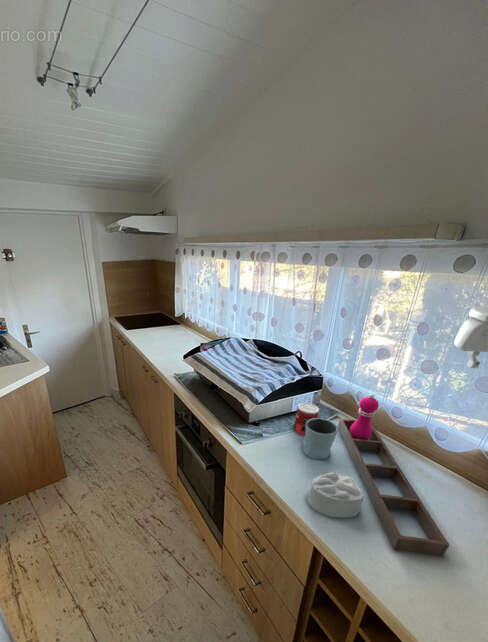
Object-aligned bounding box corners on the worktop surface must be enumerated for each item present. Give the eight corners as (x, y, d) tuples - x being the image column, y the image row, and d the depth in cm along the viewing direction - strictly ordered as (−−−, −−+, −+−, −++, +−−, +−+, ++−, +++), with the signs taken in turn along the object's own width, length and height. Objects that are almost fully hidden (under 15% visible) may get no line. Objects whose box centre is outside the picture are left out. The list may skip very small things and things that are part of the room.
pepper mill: (368, 438, 117) (384, 392, 107) (367, 448, 112) (383, 400, 102) (348, 433, 120) (361, 387, 111) (345, 442, 115) (359, 395, 105)
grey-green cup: (328, 447, 113) (335, 419, 107) (332, 464, 104) (340, 435, 98) (299, 443, 115) (305, 416, 109) (301, 460, 106) (307, 431, 101)
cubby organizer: (366, 431, 121) (370, 421, 119) (441, 558, 74) (449, 545, 71) (337, 429, 123) (340, 418, 121) (391, 551, 75) (398, 538, 73)
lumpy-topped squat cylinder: (361, 519, 84) (370, 496, 80) (314, 519, 84) (320, 496, 80) (345, 491, 93) (352, 469, 89) (302, 491, 93) (307, 469, 89)
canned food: (300, 423, 127) (304, 400, 122) (318, 432, 121) (323, 408, 116) (289, 430, 123) (293, 406, 117) (307, 439, 117) (312, 415, 112)
